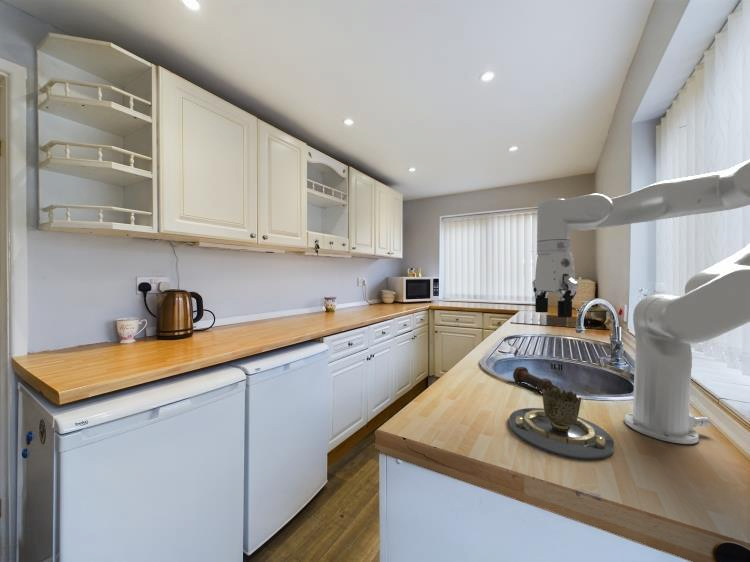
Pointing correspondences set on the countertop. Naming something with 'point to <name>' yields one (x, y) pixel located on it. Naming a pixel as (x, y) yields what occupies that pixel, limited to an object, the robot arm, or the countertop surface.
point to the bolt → (532, 379)
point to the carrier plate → (561, 436)
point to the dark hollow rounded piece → (561, 408)
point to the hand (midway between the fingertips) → (552, 314)
